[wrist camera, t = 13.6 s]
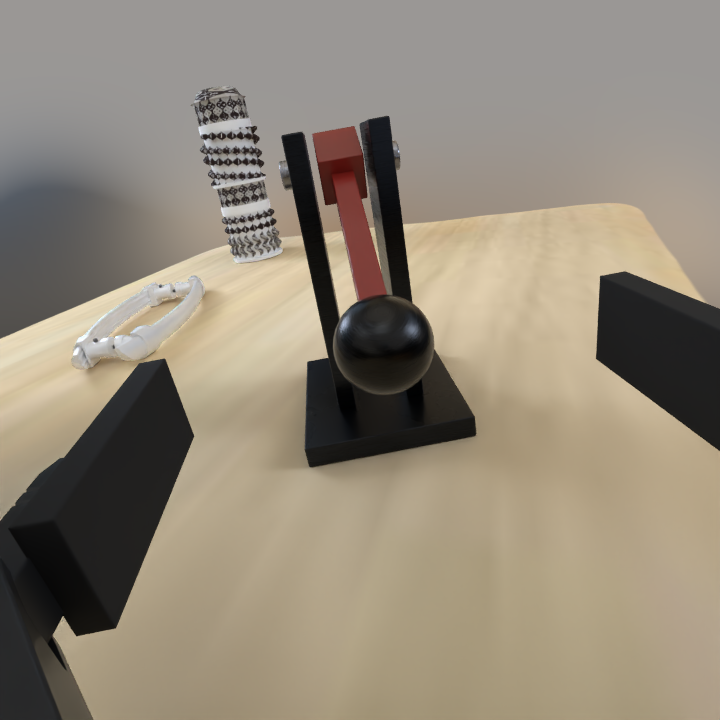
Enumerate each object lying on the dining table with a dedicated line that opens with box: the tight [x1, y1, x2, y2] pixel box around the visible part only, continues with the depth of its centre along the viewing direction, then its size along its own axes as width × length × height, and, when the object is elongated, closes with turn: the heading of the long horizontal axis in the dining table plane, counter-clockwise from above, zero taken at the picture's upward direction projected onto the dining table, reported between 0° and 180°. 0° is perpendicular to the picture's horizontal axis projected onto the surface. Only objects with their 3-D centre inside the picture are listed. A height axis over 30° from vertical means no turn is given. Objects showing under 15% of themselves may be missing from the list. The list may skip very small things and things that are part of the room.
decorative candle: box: [191, 86, 283, 263], centre depth 75 cm, size 9×9×25 cm
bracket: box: [279, 116, 476, 467], centre depth 27 cm, size 11×9×16 cm
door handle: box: [72, 276, 205, 370], centre depth 53 cm, size 3×10×25 cm
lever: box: [312, 126, 434, 395], centre depth 20 cm, size 15×4×4 cm, turn 6°
